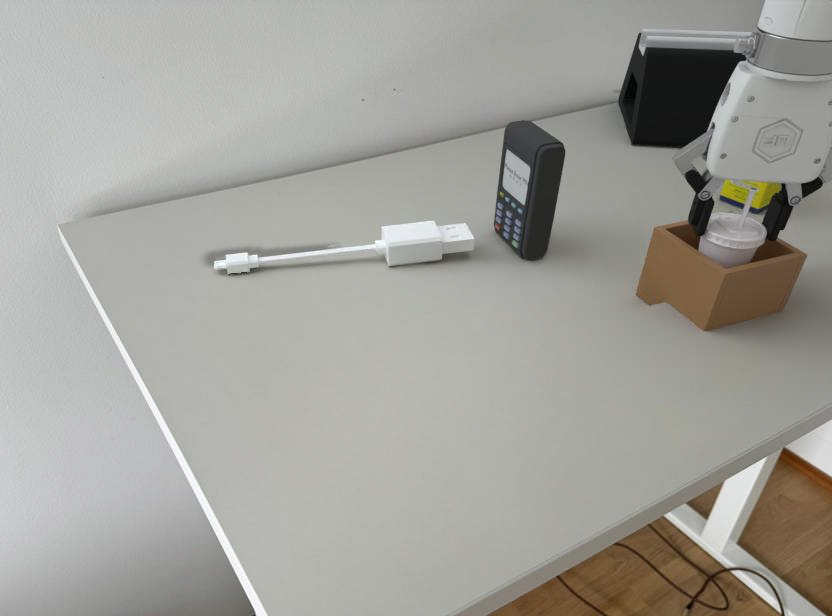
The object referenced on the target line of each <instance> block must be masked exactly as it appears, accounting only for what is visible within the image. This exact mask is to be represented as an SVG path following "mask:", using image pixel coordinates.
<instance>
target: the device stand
mask: <svg viewBox="0 0 832 616" xmlns="http://www.w3.org/2000/svg"><path fill="white" fill-rule="evenodd" d="M752 32H753V31H750V32H749V31H729V30H728V31H722V30H697V29H695V30H692V29H667V28H665V29H664V28H663V29H662V28H642V30H641V32H639V33H638V34H637V37H636V40H635V44H634V46H633V50H632V53H631V56H630V60H629V63H628V66H627V69H626V73H625V76H624V79H623V82H622V86H621V89H620V92H619V95H618V106H619V109H620V113H621V115H622V119H623V122H624V125H625V128H626V132H627V135H628V139H629V141H630V144H631V145H635V146H651V147H670V148H671V147H672V148H683V147H685V146H686V145H688V144H689V143H691V142H692V141H694V140H695V139H697V138H698V137H700V136H701V135H703V134H704V133H706V132H707V130H708V128H709V125H710V122H711V120H712V117H713V115H714V112H715V110H716V107H717V105H718V102H719V100H720V98H721V96H722V94H723V91H724V89H725V87H726V85H727V83H728V81H729V79H730V77H731V75H732V74H733V72H734V70H735V68H736V67H737V65H738V63H739V62H741V61H746V60H747V58H746V57H745V55H743V54H742V53H734V44H735V41H736V39H737V37H746V36H750V35H751V33H752Z"/></svg>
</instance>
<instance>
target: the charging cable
mask: <svg viewBox="0 0 832 616" xmlns="http://www.w3.org/2000/svg"><path fill="white" fill-rule="evenodd" d="M380 229H381V239H376V240H374V243H373V244H364V245H356V246H355V245H354V246H348V247H347V246H346V247H339V248H329V249H321V250H313V251H304V252H295V253H286V254H285V253H284V254H278V255H270V256H258V254H252V255H250V254H249V253H248V251H247V252H238V253H231V254H230V253H229V254H225V259H221V260H214V261H213V269H214V271H218V270H226V272H227V275H228V274H229V273H238V274H242V273H241V272H247V273H251V269H255V268H256V269H257V268H259V267H260V266H259V265H265V264H273V263H283V262H289V261H290V262H291V261H298V260H300V261H301V260H308V259H316V258H325V257H334V256H341V255H352V254H359V253H367V252H376V255H383V256H384V258H385V261H386V264H387V266H388V267H395V266H403V265H411V264H412V265H413V264H419V263H429V262H437V261H442V260H443V255H445V254H454V253H461V252H471V251H475V237H474V235H473V233H472V232H471V230H470V228H469V226H468V225H467V222H463V223H454V224H444V225H437V224H436V222H435V220H426V221H418V222H417V221H416V222H408V223H407V222H406V223H400V224H391V225H382V226H381V228H380Z"/></svg>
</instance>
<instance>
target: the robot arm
mask: <svg viewBox="0 0 832 616" xmlns="http://www.w3.org/2000/svg"><path fill="white" fill-rule="evenodd" d="M751 32H752V33H751V35H750V36H746V37H737V39H736V41H735V44H734V53H742V54H743V55H745V57H746V58H747V60H746V61H741V62H739V63H738V65H737V67H736V68H735V70H734V72H733V74H732V75H731V77H730V79H729V81H728V83H727V85H726V87H725V89H724V91H723V94H722V96H721V98H720V100H719V102H718V105H717V107H716V110H715V112H714V115H713V117H712V120H711V122H710V125H709V128H708V130H707V132H706V133H704V134H703V135H701V136H700V137H698V138H697V139H695V140H694V141H692V142H691V143H689V144H688V145H686V146H685V147H681V148H680V149H679V150H677V151H676V152H674V153H673V154H672V156H671V159H672V161H673V164H674V166H675V167H676V168H677V170H678V171H679V172H680V174H681V176H683V178H684V179H685V180H686V183H687V184H688V185H689V186H690V188H691V189H692V190H693V192H694V196H693V200H692V202H691V206H690V209H689V213H688V216H687V220H688V222H689V224H691V225H692V228H693V230H694V232H695V235H696V236H702V235H704V234H705V231H706V228H707V225H708V222H709V219H710V216H711V214H713V213H712V212H713V210H714V207H715V200H714V198H713V196H714V195H715V193H716V192H717V191H718V189H719V188H720V187H721V186H723V184H724V182H725V180H735V181H751V182H768V183H780V191H779V193H775V194H774V195H773V196H772V198H771V200H770V203H769V205H768V208H767V209H766V211H765V213H764V216H763V219H762V222H761V223H762V224H763V225H764V226H765V228H766V229H767V235H766V238H767V239H768V240H769V241H776V240H777V237H778V238H779V234H780V232H781V231H784V230H785V229H786V227H787V224H788V222H789V219H790V217H791V214H792V212H793V209H794V207H796V206H799V205H800V204H801V203H802V202H803V199H805V198H806V197H808V196H810V195H812V194H814V193H815V192H817V191H819V190H820V189H821V188H822V187H823V185H825V184H827V183H829V182H831V181H832V0H764V3H763V6H762V10H761V13H760V16H759V19H758V22H757V26H754V27H753V30H752V31H751ZM699 157H701V158H702V160H703V161H705V162H706V167H705V168H704V169H703V170H702V172H701V173H700V171H698V169H697V168H696V167H695V166H694V164H693V163H694V161H695V160H696V159H698V158H699Z"/></svg>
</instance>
